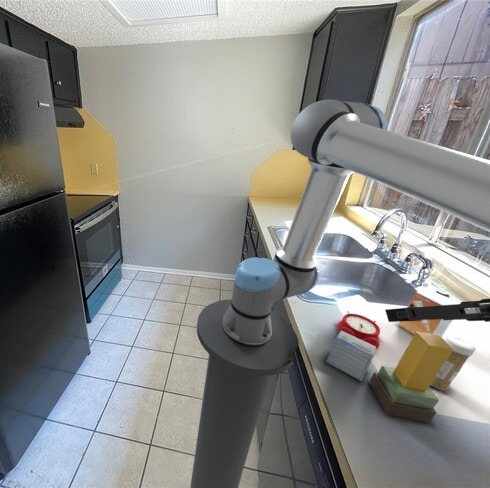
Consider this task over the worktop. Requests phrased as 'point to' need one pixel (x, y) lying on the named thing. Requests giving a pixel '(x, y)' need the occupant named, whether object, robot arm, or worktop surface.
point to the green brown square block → (402, 397)
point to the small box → (428, 326)
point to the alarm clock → (360, 328)
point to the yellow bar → (422, 361)
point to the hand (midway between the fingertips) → (415, 314)
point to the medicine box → (351, 355)
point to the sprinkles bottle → (453, 361)
